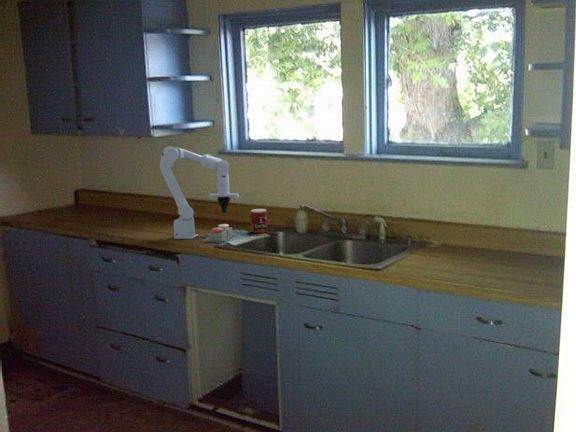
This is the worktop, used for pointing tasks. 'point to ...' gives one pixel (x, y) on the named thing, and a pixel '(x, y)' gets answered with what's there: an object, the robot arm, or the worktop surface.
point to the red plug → (217, 230)
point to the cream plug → (223, 226)
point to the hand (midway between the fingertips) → (224, 212)
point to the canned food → (259, 220)
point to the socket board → (221, 236)
